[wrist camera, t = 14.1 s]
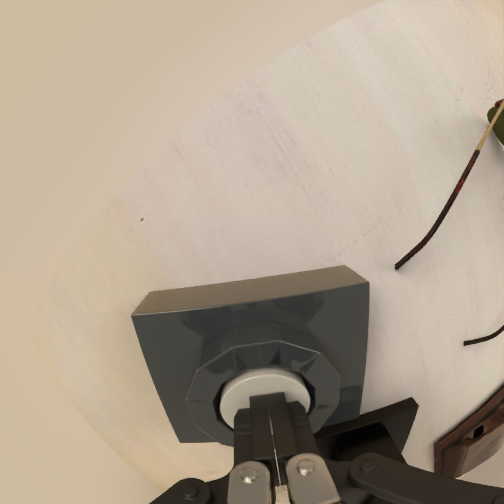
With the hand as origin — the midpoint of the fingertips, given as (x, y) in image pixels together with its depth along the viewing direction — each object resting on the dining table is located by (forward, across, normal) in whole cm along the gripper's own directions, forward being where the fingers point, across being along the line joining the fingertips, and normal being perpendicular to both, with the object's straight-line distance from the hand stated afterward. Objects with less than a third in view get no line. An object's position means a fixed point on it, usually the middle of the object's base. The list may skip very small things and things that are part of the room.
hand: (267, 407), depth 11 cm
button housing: (+5, 0, 0) cm, 5 cm away
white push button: (+2, 0, 0) cm, 2 cm away
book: (+5, -34, +22) cm, 41 cm away
